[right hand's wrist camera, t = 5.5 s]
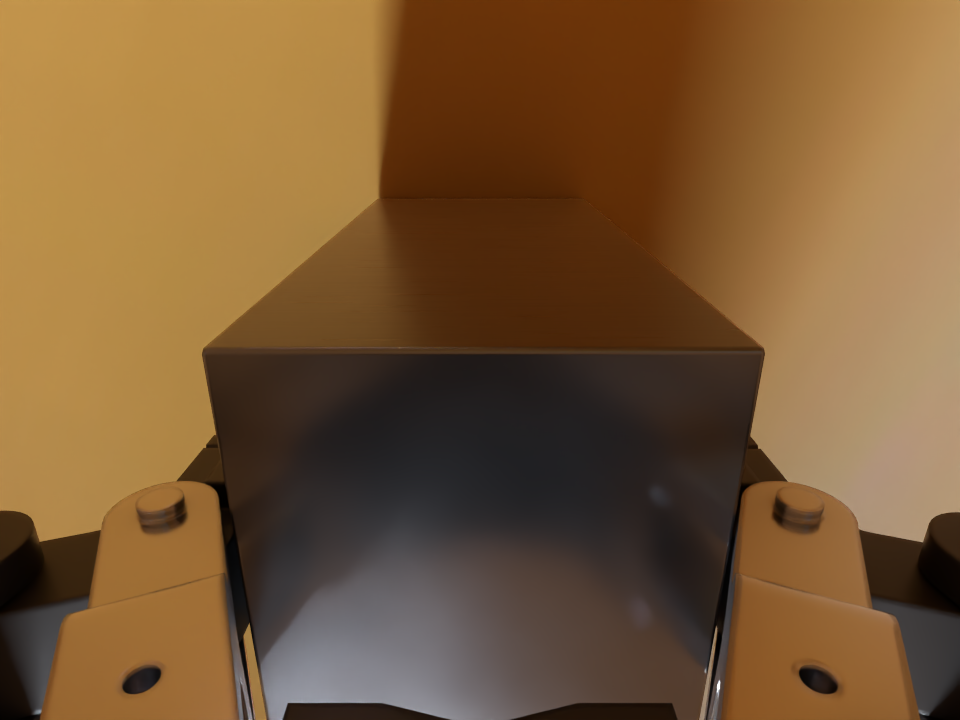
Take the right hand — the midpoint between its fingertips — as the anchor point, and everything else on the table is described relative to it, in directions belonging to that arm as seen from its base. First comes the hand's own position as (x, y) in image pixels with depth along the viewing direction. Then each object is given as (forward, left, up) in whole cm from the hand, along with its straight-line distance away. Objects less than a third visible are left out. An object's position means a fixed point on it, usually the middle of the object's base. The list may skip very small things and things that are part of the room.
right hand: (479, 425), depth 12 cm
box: (+9, 0, -7) cm, 12 cm away
